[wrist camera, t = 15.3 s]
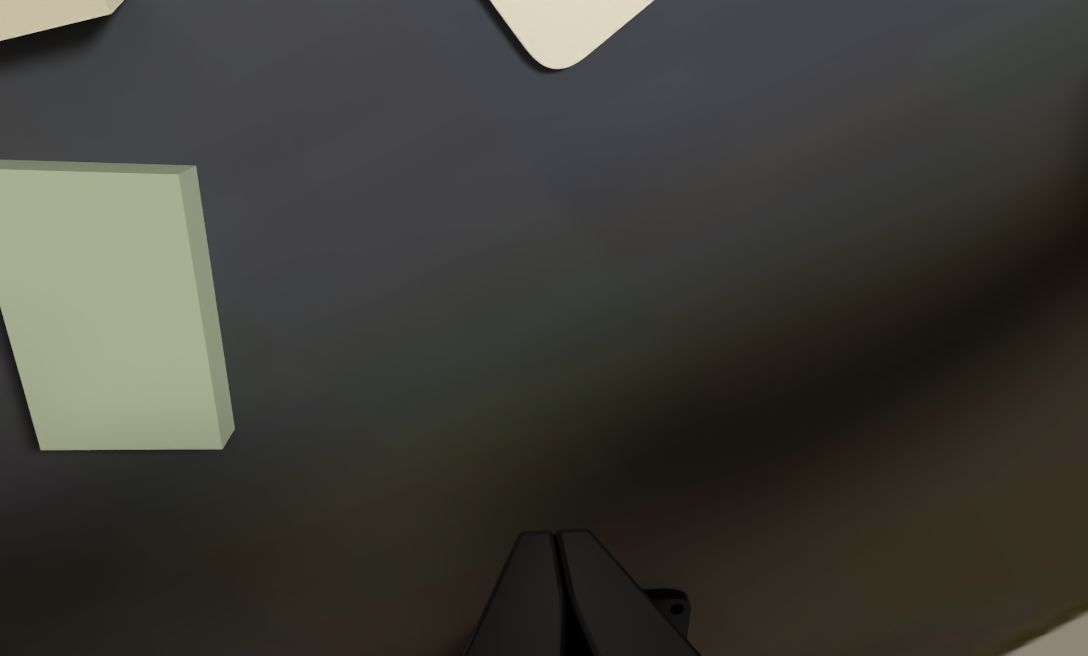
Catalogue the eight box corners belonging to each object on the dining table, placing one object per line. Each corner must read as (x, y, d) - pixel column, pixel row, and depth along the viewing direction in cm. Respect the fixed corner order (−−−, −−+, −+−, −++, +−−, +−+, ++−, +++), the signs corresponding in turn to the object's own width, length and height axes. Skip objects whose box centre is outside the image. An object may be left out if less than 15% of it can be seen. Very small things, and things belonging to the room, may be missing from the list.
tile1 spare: (222, 449, 21) (178, 174, 17) (40, 450, 20) (-40, 168, 17) (239, 420, 22) (202, 162, 19) (70, 420, 22) (2, 155, 18)
